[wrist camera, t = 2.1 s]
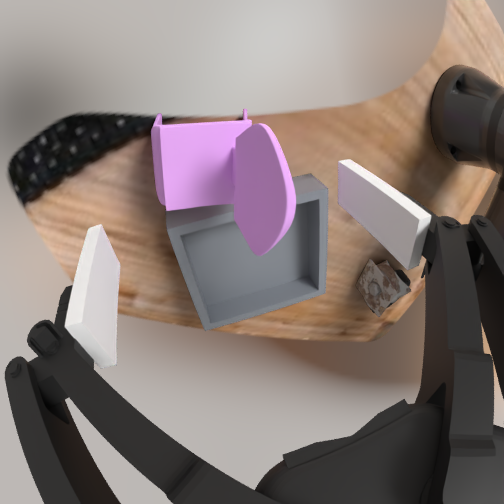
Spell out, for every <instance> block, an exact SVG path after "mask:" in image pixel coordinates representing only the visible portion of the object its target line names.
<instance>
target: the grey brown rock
mask: <svg viewBox="0 0 504 504" xmlns="http://www.w3.org/2000/svg"><path fill="white" fill-rule="evenodd" d="M409 285H410V280H409V278H408V277H407V276H406V275H405V273H404V272H403V271H402V270H396V271H394V270H393V269H392V268H391V267H390V265H389V262H388V261H385V262H382V263H380V264H378V265H375V264H374V262H373V261H372V260H371V259H369V261H368V263H367V265H366V267H365V269H364V270H363V272H362V274H361V276H360V278H359V280H358V281H357V284H356V287H357V289H358V290H359V291H360V293H361V294H362V295H363V297H364V299H365V302H366V303H367V305H368V306H369V308H370V309H371V310H372V312H373V313H376V315H377V316H378V317H380V316H381V314H382V313H383V312H384V310H385V309H386V308H387V307H389V306H390V305H392V304H393V303H394V302H395V301H397V300H398V299H399V298H400V297H402V296H404V295H406V294H407V293H409V292H411V289H410V288H409Z"/></svg>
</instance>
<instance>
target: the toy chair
mask: <svg viewBox="0 0 504 504" xmlns="http://www.w3.org/2000/svg"><path fill="white" fill-rule="evenodd" d="M151 137H152V152H153V164H154V175H155V185H156V191H157V195H158V199H159V201H160V203H161V204H163V205H165V206H166V211H171V210H179V209H187V208H193V207H200V206H210V205H222V204H234V220H235V222H236V224H237V225H238V227H239V229H240V231H241V233H242V234H243V236H244V238H245V240H246V241H247V243H248V245H249V247H250V248H251V250H252V251H253V253H254V254H255V255H257V256H262V255H264V254H265V253H267V252H268V251H269V250H270V249H271V248H273V247H274V246H275V245H276V244H277V243H278V242H279V241H280V240H281V239H282V237H283V236H284V235H285V234H286V232H287V231H288V229H289V228H290V226H291V224H292V221H293V219H294V215H295V210H296V194H295V188H294V184H293V180H292V177H291V174H290V170H289V167H288V165H287V162H286V159H285V157H284V154H283V152H282V149H281V147H280V145H279V143H278V141H277V139H276V137H275V135H274V133H273V132H272V130H271V129H270V128H269V127H268V126H267V125H265V124H261V123H259V124H254V125H252V120H247V109H243V120H241V121H223V122H206V123H188V124H174V125H162V114H161V113H159V114H157V117H156V120H155V122H154V125H153V127H152V129H151Z"/></svg>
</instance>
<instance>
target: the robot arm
mask: <svg viewBox="0 0 504 504" xmlns="http://www.w3.org/2000/svg"><path fill="white" fill-rule="evenodd" d="M431 129H432V134H433V138H434V141H435V144H436V146H437V148H438V149H439V151H440V152H441V153H442V154H443V155H444V156H445V157H447V158H449V159H451V160H453V161H454V162H456V163H459V164H463V165H470V166H476V167H482V168H488V169H491V170H493V171H495V172H496V173H498V174H500V175H501V177H500V179H499V182H498V185H497V187H496V189H495V192H494V194H493V196H492V199H491V201H490V203H489V206H488V208H487V210H486V212H485V215H484V216H480V215H473V216H472V217H471V220H470V223H469V224H464V225H461V224H460V223H459V222H458V221H457V220H455V219H454V218H451V217H448V216H442V217H438V216H436V215H435V214H434V213H433V212H431V211H430V210H429V209H427V208H426V207H425V206H423V205H421V203H419V202H418V201H416V200H415V199H414V198H412V197H411V196H409V195H407V194H405V193H403V192H400V191H397V190H396V189H394V188H393V187H392V186H390V185H389V184H387V183H386V182H384V181H383V180H381V179H380V178H378V177H377V176H375V175H374V174H372V173H371V172H369V171H368V170H366V169H364V168H363V167H361V166H360V165H358V164H357V163H355V162H353V161H352V160H350V159H347V160H342V161H338V204H339V205H340V206H341V207H343V208H344V209H345V210H346V211H347V212H348V213H349V214H350V215H351V216H352V217H353V218H355V219H356V220H357V221H358V222H359V223H360V224H361V225H362V226H363V227H364V228H365V229H366V230H367V231H368V232H369V233H370V234H372V235H373V236H374V237H375V238H376V239H377V240H378V241H379V242H380V243H381V244H382V245H383V246H384V247H385V248H386V249H387V250H388V251H389V252H390V253H391V254H392V255H393V256H394V257H395V258H396V259H397V260H398V261H399V262H400V263H401V264H402V265H403V266H404V267H405V268H406V269H407V270H409V269H412V268H414V267H416V266H419V263H420V260H421V256H422V255H423V256H424V257H425V258H426V259H427V260H426V263H425V266H424V269H423V273H422V276H421V278H423V277H424V275H425V287H426V317H425V342H424V357H423V369H422V379H421V386H420V391H419V393H418V396H417V398H416V401H415V403H414V404H407V402H406V401H405V399H403V400H402V401H400V402H398V403H397V404H395V405H393V406H391V407H389V408H388V409H386V410H384V411H382V412H380V413H378V414H377V415H376V416H375V417H374V418H373V419H372V420H370V421H369V422H368V423H367V424H366V425H365V426H363V427H362V428H361V429H360V430H359V431H357V432H356V433H355V434H354V435H352V436H349V437H344V438H339V439H334V440H328V441H323V442H316V443H313V444H311V445H308V446H306V447H303V448H300V449H298V450H295V451H292V452H289V453H287V454H283V459H284V460H283V461H281V462H280V463H278V464H277V465H276V466H274V467H273V468H272V469H270V470H269V471H268V472H267V474H265V475H264V477H263V478H262V479H261V481H260V482H259V484H258V485H257V487H256V489H255V490H253V489H251V488H249V487H247V486H245V485H244V484H242V483H240V482H238V481H237V480H235V479H233V478H232V477H230V476H228V475H226V474H225V473H223V472H222V471H220V470H218V469H217V468H215V467H214V466H212V465H210V464H209V463H207V462H206V461H204V460H203V459H201V458H200V457H198V456H196V455H195V454H194V453H192V452H191V451H189V450H188V449H186V448H185V447H184V446H182V445H181V444H179V443H178V442H177V441H175V440H174V439H173V438H171V437H170V436H169V435H167V434H166V433H165V432H163V431H162V430H161V429H159V428H158V427H157V426H156V425H154V424H153V423H152V422H151V421H150V420H148V419H147V418H146V417H145V416H144V415H142V414H141V413H140V412H139V411H138V410H137V409H135V408H134V407H133V406H132V405H131V404H130V403H128V402H127V401H126V400H125V399H124V398H123V397H122V396H121V395H120V394H118V393H117V392H116V391H115V390H114V389H113V388H112V387H111V386H110V385H109V384H108V383H107V382H106V381H105V380H104V379H103V378H102V377H101V376H100V375H99V374H98V373H97V372H96V371H95V370H94V362H95V363H96V364H97V365H98V366H99V367H100V368H106V367H111V366H115V365H117V355H116V354H117V351H116V348H117V342H116V341H117V308H118V290H119V276H120V263H119V261H118V259H117V257H116V255H115V253H114V251H113V248H112V246H111V244H110V242H109V240H108V238H107V236H106V233H105V231H104V229H103V227H102V224H100V225H97V226H94V227H91V228H89V229H88V232H87V235H86V238H85V242H84V245H83V249H82V252H81V256H80V259H79V263H78V267H77V271H76V275H75V279H74V283H73V285H71V286H68V287H66V288H65V290H64V292H63V293H62V295H61V297H60V301H59V307H58V310H57V314H56V318H55V323H54V324H53V323H52V322H51V321H50V320H43V321H40V322H38V323H37V324H36V325H34V327H33V328H32V329H31V330H30V333H29V334H28V338H27V342H28V345H29V347H31V349H32V350H33V351H34V352H35V353H36V354H37V355H38V357H36V358H34V359H33V360H31V361H29V362H27V361H26V360H25V359H24V358H23V357H16V358H14V359H12V361H10V362H9V364H8V365H7V367H6V371H5V381H6V386H7V392H8V397H9V401H10V406H11V410H12V414H13V418H14V422H15V425H16V429H17V432H18V436H19V439H20V442H21V446H22V449H23V452H24V455H25V458H26V460H27V463H28V465H29V468H30V471H31V474H32V476H33V479H34V481H35V484H36V486H37V488H38V490H39V493H40V495H41V497H42V499H43V502H44V504H121V503H120V502H119V501H118V499H117V498H116V496H115V495H114V493H113V491H112V490H111V488H110V487H109V485H108V483H107V482H106V480H105V479H104V477H103V475H102V474H101V472H100V470H99V469H98V467H97V465H96V463H95V462H94V460H93V458H92V456H91V454H90V452H89V451H88V449H87V447H86V445H85V443H84V441H83V439H82V437H81V435H80V433H79V431H78V429H77V427H76V424H75V422H74V420H73V418H72V416H71V413H70V411H69V409H68V407H67V404H66V402H65V399H67V398H68V397H70V399H71V400H72V401H73V402H74V404H75V405H76V406H77V408H78V409H79V410H80V411H81V412H82V413H83V415H84V416H85V417H86V418H87V419H88V420H89V422H90V423H91V424H92V425H93V426H94V427H95V428H96V429H97V430H98V431H99V433H100V434H101V435H102V436H103V437H104V438H105V439H106V440H107V441H108V442H109V443H110V444H111V445H112V446H113V447H114V448H115V449H116V450H117V451H118V452H119V453H120V454H121V455H122V456H123V457H124V458H125V459H126V460H127V461H128V462H129V463H131V464H132V465H133V466H134V467H135V468H136V469H137V470H138V471H140V472H141V473H142V474H143V475H144V476H145V477H146V478H148V479H149V480H150V481H151V482H152V483H154V484H155V485H156V486H157V487H158V488H160V489H161V490H162V491H163V492H164V493H165V494H166V496H167V498H168V499H169V500H170V501H171V502H172V503H173V504H504V428H503V427H500V426H496V425H493V419H494V417H493V416H494V372H493V361H494V365H495V369H496V373H497V377H498V381H499V385H500V388H501V392H502V396H503V399H504V88H503V87H502V86H501V85H499V84H498V83H496V82H495V81H494V80H492V79H491V78H490V77H488V76H487V75H485V74H484V73H482V72H481V71H479V70H477V69H475V68H472V67H468V66H464V65H456V66H453V67H451V68H449V69H448V70H447V71H446V72H445V73H444V74H443V75H442V77H441V78H440V80H439V82H438V84H437V86H436V89H435V92H434V96H433V100H432V106H431ZM481 323H482V326H483V329H484V332H485V335H486V338H487V341H488V344H489V347H490V351H491V354H492V356H491V355H490V354H485V353H484V351H483V338H482V328H481ZM492 358H493V360H492Z"/></svg>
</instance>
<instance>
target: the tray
mask: <svg viewBox="0 0 504 504" xmlns="http://www.w3.org/2000/svg"><path fill="white" fill-rule="evenodd" d="M292 180H293V184H294V188H295V194H296V210H295V215H294V219H293V221H292V224H291V226H290V228H289V229H288V231H287V232H286V234H285V235H284V236H283V237H282V239H281V240H280V241H279V242H278V243H277V244H276V245H275V246H274V247H273V248H271V249H270V250H269V251H268V252H267V253H265V254H264V255H262V256H257V255H255V254H254V253H253V251H252V250H251V248H250V247H249V245H248V243H247V241H246V240H245V238H244V236H243V234H242V233H241V231H240V229H239V227H238V225H237V224H236V222H235V220H234V204H222V205H210V206H200V207H193V208H187V209H179V210H171V211H166V210H165V212H166V227H167V232H168V235H169V238H170V241H171V244H172V246H173V249H174V252H175V255H176V258H177V260H178V263H179V266H180V269H181V271H182V274H183V277H184V279H185V282H186V285H187V287H188V290H189V293H190V295H191V298H192V300H193V303H194V305H195V308H196V310H197V313H198V315H199V318H200V320H201V323H202V325H203V328H204V330H205V331H207V330H210V329H214V328H217V327H221V326H224V325H228V324H231V323H234V322H238V321H241V320H245V319H248V318H251V317H254V316H258V315H261V314H264V313H267V312H271V311H274V310H277V309H280V308H283V307H286V306H289V305H292V304H295V303H298V302H301V301H304V300H307V299H310V298H313V297H316V296H319V295H322V294H325V291H326V271H327V243H328V188H327V187H326V186H325V185H324V184H323V183H321V182H320V181H319V180H318V179H317V178H315V177H314V176H313V175H312V174H306V175H301V176H297V177H292Z"/></svg>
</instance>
